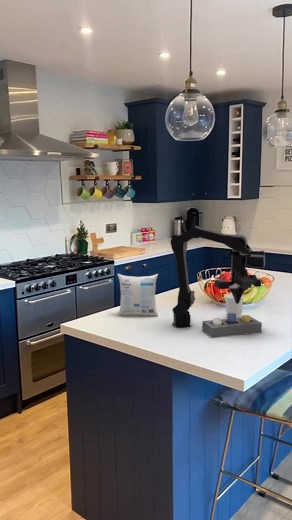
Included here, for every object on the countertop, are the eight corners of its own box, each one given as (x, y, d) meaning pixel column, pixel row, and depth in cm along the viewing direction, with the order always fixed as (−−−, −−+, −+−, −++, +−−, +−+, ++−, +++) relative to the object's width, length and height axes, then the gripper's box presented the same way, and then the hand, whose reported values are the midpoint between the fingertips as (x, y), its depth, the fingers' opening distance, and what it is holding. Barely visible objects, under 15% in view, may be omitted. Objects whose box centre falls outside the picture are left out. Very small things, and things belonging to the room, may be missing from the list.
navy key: (229, 325, 185) (229, 315, 185) (225, 322, 189) (225, 313, 188) (237, 324, 186) (237, 315, 186) (233, 321, 190) (233, 312, 189)
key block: (212, 337, 181) (212, 328, 180) (202, 330, 190) (202, 321, 189) (261, 332, 186) (261, 322, 186) (249, 325, 196) (249, 316, 195)
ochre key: (244, 327, 187) (244, 317, 187) (239, 324, 191) (240, 315, 190) (251, 326, 188) (252, 317, 188) (247, 323, 192) (247, 314, 191)
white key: (215, 330, 184) (215, 320, 183) (211, 327, 187) (211, 318, 187) (223, 329, 185) (223, 319, 184) (219, 326, 188) (219, 317, 188)
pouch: (156, 318, 208) (156, 276, 204) (116, 317, 211) (115, 275, 208) (159, 313, 215) (159, 272, 212) (120, 312, 219) (119, 271, 216)
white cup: (222, 318, 206) (223, 297, 205) (228, 314, 213) (228, 293, 212) (239, 320, 203) (240, 298, 201) (244, 316, 210) (245, 295, 208)
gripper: (226, 271, 174) (225, 310, 177) (269, 268, 179) (267, 306, 182) (214, 266, 185) (213, 303, 187) (255, 264, 190) (253, 300, 193)
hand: (237, 303), depth 187 cm, fingers closed
